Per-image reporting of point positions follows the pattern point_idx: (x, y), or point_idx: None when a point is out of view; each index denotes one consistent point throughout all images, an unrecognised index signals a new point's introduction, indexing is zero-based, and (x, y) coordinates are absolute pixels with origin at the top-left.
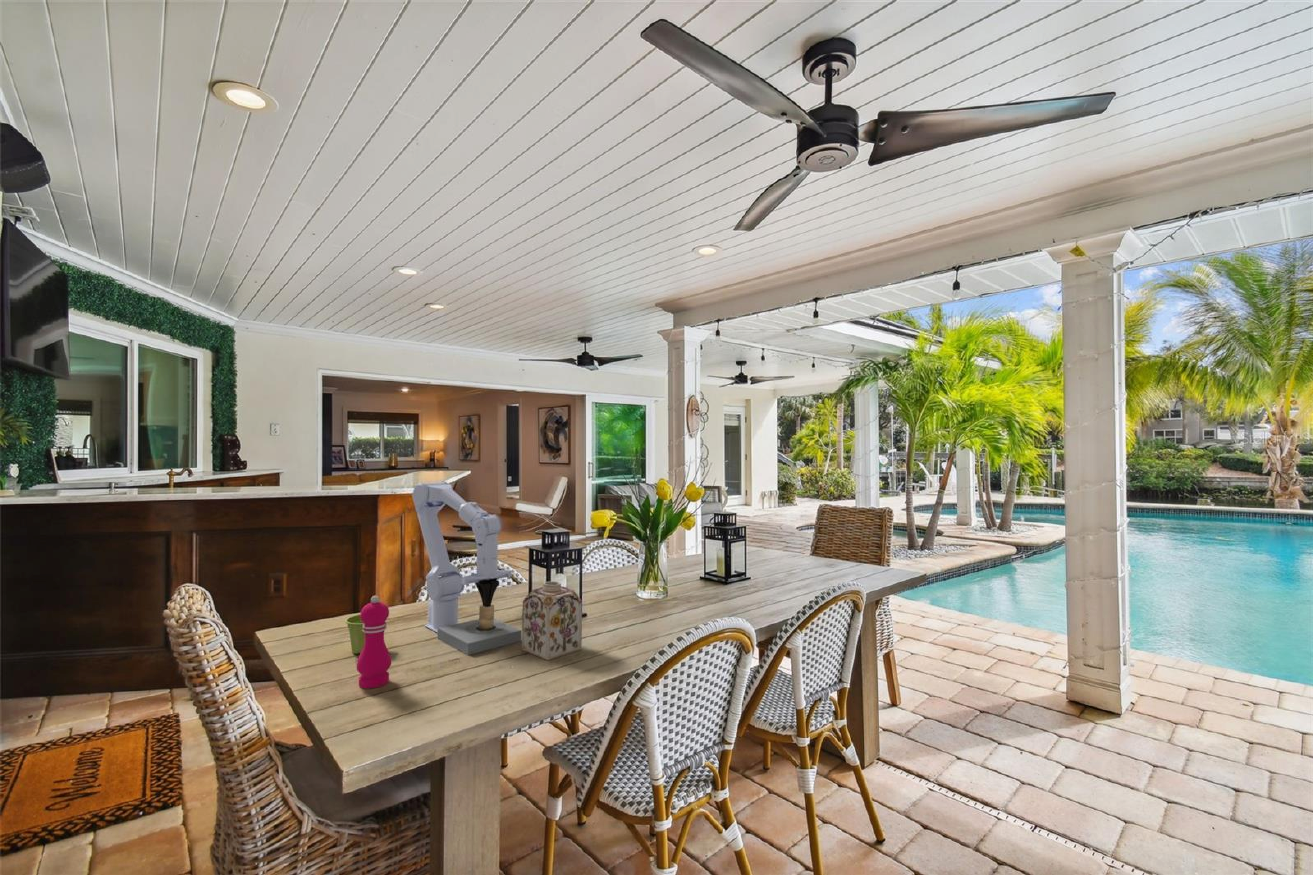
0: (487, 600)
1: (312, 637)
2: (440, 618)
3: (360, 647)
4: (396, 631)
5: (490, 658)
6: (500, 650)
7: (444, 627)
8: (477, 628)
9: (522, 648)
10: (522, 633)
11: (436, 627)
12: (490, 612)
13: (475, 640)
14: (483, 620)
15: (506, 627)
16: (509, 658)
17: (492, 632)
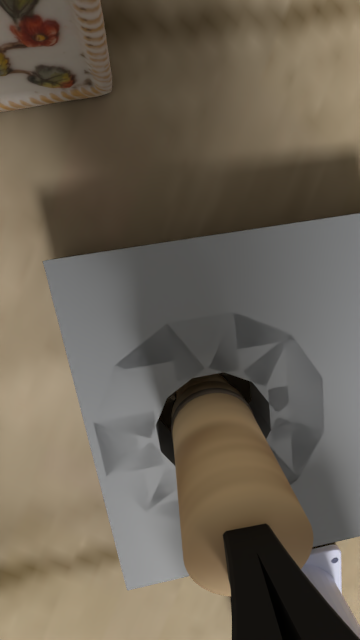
0: (293, 582)
1: None
2: (354, 625)
3: None
4: None
5: (305, 86)
6: (213, 180)
7: None
8: None
9: (112, 80)
10: (101, 12)
11: (337, 587)
12: (229, 461)
13: (357, 236)
14: (260, 432)
15: (110, 371)
16: (225, 7)
17: (218, 324)
